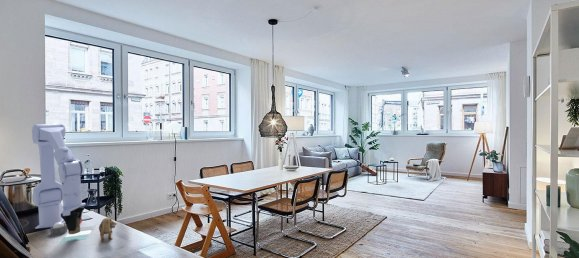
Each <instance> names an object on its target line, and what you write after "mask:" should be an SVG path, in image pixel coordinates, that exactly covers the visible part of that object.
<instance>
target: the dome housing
mask: <svg viewBox="0 0 579 258" xmlns="http://www.w3.org/2000/svg"><path fill="white" fill-rule="evenodd" d="M63 224H64V226H63V227H60V228H53V226H52V227H49V232H50V233H49V234H50V236H54V237H55V236H60V235H63V234H66V233H67V232H68V228H67V226H66V223H63Z"/></svg>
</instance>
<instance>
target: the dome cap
mask: <svg viewBox="0 0 579 258" xmlns="http://www.w3.org/2000/svg"><path fill="white" fill-rule="evenodd" d="M64 224H65V223H64V222H58V223H56V224H54V226H53V228H60V227H63V226H64Z"/></svg>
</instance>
